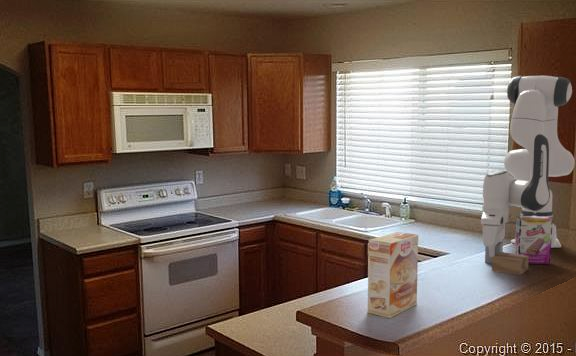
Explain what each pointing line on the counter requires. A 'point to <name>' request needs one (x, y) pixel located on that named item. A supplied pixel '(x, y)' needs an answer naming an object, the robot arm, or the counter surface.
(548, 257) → the candy bar box
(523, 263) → the tan block
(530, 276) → the counter surface
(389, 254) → the coffeecake box
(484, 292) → the counter surface
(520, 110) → the robot arm
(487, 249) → the grey plastic block
